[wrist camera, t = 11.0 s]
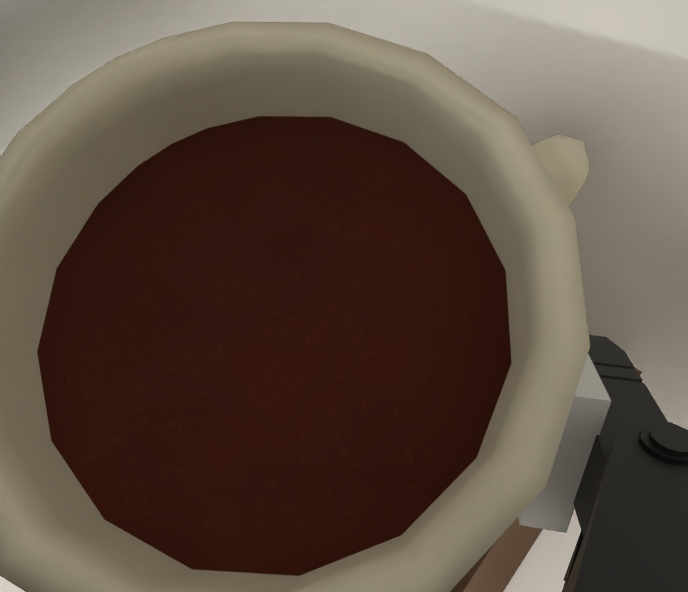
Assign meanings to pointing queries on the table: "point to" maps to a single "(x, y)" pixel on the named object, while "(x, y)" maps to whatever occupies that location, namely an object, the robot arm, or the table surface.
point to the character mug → (279, 319)
